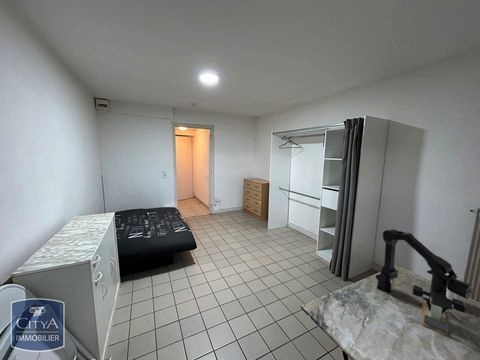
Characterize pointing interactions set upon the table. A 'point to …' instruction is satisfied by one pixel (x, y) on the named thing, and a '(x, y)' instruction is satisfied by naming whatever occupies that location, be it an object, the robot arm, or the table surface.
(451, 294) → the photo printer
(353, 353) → the table surface
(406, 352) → the table surface
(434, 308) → the book
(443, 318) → the shelf board
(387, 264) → the robot arm
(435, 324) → the bookend
